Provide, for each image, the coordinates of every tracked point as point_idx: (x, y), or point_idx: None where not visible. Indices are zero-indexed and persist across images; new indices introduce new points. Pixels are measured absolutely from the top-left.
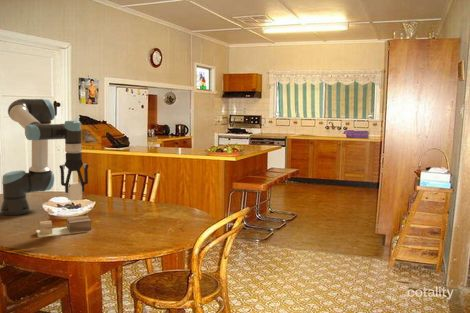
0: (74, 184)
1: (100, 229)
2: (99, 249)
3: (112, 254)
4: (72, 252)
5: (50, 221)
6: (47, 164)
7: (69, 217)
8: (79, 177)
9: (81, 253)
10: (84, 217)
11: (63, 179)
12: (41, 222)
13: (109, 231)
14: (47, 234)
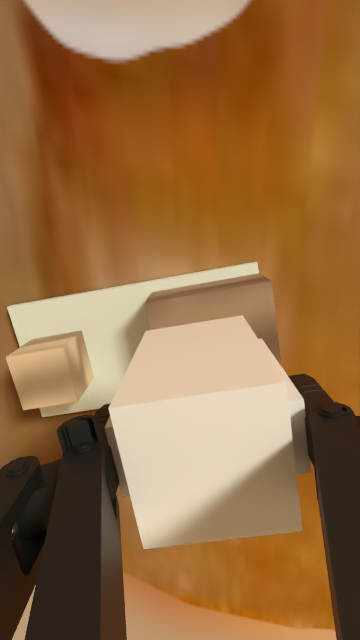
0: (210, 538)
1: (315, 330)
2: (282, 569)
3: (318, 617)
4: (191, 574)
5: (62, 365)
6: None
7: (160, 300)
8: (331, 599)
9: (221, 588)
10: (250, 322)
11: (10, 620)
12: (17, 373)
13: (352, 373)
14: None
